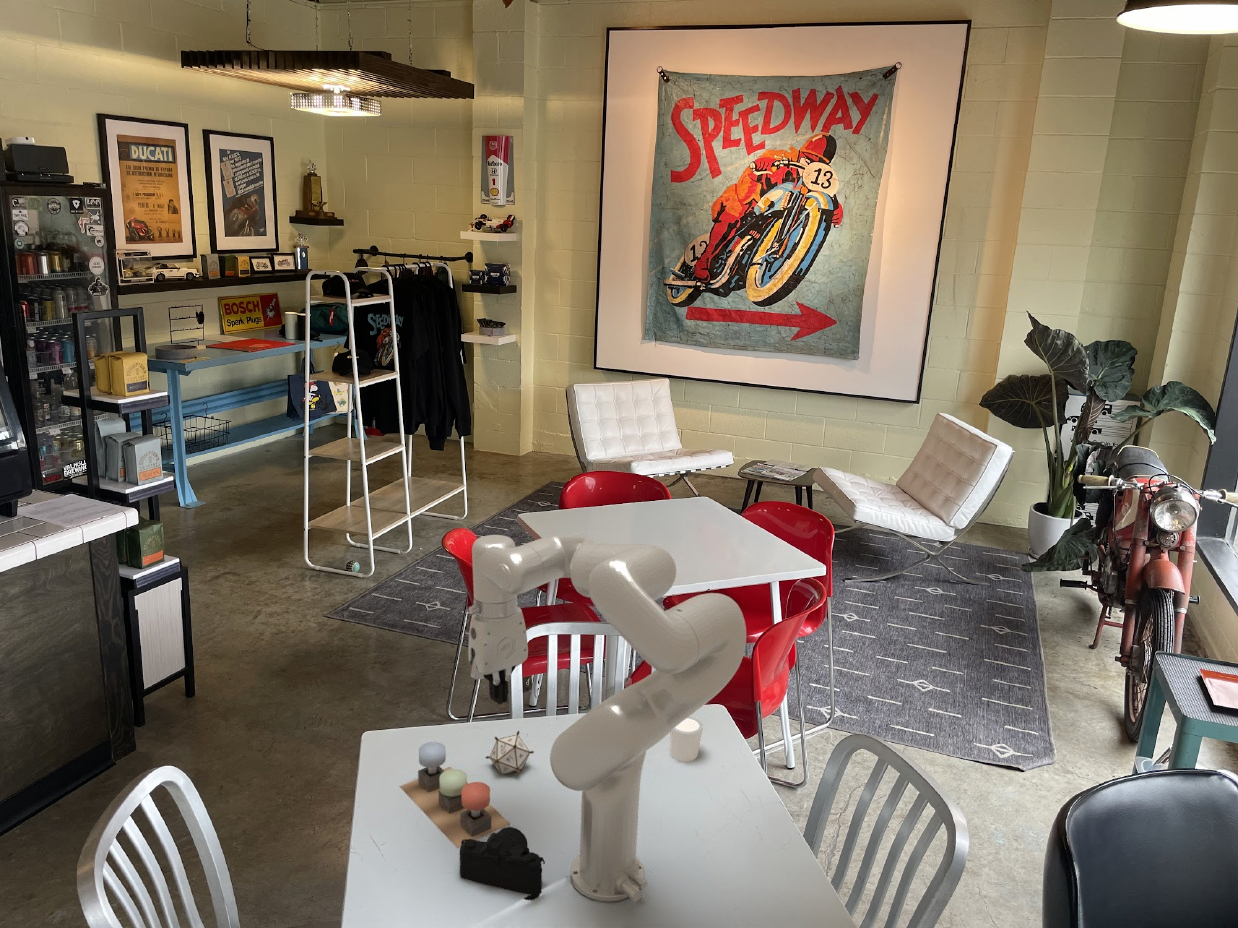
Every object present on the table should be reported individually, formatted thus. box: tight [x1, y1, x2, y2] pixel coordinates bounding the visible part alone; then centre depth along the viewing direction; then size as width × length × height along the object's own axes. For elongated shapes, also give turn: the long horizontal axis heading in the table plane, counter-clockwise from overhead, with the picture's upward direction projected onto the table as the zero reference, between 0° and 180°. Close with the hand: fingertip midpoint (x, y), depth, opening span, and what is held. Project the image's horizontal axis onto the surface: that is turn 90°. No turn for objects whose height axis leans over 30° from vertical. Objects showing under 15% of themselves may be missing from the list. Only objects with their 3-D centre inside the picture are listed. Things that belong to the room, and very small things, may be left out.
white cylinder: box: [669, 716, 704, 763], centre depth 194 cm, size 7×7×7 cm
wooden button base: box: [399, 765, 511, 849], centre depth 174 cm, size 22×11×4 cm, turn 39°
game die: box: [484, 730, 535, 775], centre depth 185 cm, size 9×8×10 cm
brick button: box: [462, 781, 491, 817], centre depth 167 cm, size 5×5×5 cm
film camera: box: [459, 826, 546, 901], centre depth 157 cm, size 15×10×9 cm, turn 74°
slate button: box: [418, 741, 447, 774], centre depth 178 cm, size 5×5×5 cm
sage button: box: [440, 768, 468, 798], centre depth 173 cm, size 5×5×5 cm
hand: (499, 700), depth 168 cm, fingers closed
